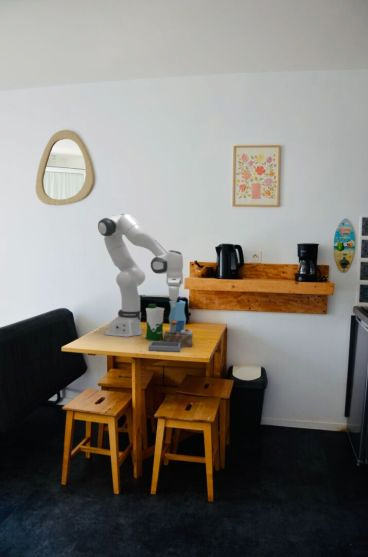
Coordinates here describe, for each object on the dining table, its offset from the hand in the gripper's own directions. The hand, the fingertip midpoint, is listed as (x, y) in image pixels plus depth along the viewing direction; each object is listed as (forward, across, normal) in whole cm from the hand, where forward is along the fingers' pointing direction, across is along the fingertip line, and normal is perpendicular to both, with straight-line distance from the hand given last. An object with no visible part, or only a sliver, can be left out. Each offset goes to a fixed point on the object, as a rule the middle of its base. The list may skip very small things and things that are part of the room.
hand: (174, 305), depth 224 cm
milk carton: (+22, -10, -12) cm, 27 cm away
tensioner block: (+22, 0, +3) cm, 22 cm away
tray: (+21, +10, -4) cm, 24 cm away
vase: (+22, -24, 0) cm, 32 cm away
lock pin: (+20, 0, 0) cm, 21 cm away
